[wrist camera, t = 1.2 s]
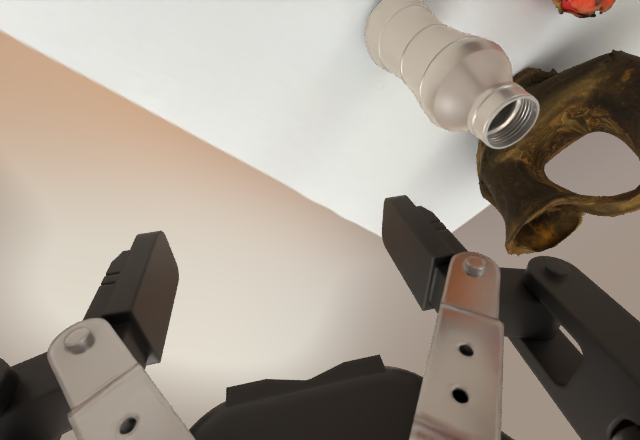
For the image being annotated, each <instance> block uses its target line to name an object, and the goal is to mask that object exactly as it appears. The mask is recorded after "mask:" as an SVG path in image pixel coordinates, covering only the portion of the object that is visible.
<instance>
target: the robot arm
mask: <svg viewBox="0 0 640 440" xmlns="http://www.w3.org/2000/svg"><path fill="white" fill-rule="evenodd" d="M382 238H383V242H384V245H385V248H386V249H387V251H388V253H389V254H390V256H391V258H392V259H393V261H394V263H395V265H396V266H397V268H398V270H399V271H400V273H401V275H402V276H403V278H404V280H405V282H406V283H407V285H408V287H409V288H410V290H411V292H412V294H413V295H414V297H415V299H416V300H417V302H418V304H419V305H420V307H421V309H422V310H423V311H425V310H430V309H435V310H436V312H437V313H438V315H437V320H436V325H435V328H434V333H433V337H432V341H431V345H430V350H429V354H428V358H427V363H426V367H425V371H424V375H423V377H421V376H419V375H417V374H415V373H413V372H410V371H408V370H404V369H401V368H396V367H390V366H384V364H383V362H382V359H381V357H380V355H375V356H371V357H366V358H362V359H357V360H352V361H348V362H344V363H342V364H340V365H338V366H336V367H334V368H332V369H330V370H328V371H326V372H324V373H322V374H320V375H318V376H316V377H314V378H312V379H309V380H275V379H274V380H273V379H265V380H260V381H255V382H251V383H246V384H242V385H237V386H232V387H228V388H227V390H226V392H227V393H226V401H225V402H223V403H221V404H220V405H218V406H216V407H215V408H213V409H212V410H210V411H209V412H208V413H207V414H205V415H204V416H203V417H202V418H200V419H199V420H198V421H197V422H196V423H195V424H194V425H193V426H192V427H191V428H190V430H188V428H187V427H186V426H185V424H184V423H183V422H182V420H181V419H180V418H179V416H178V415H177V413H176V412H175V411H174V410H173V408H172V407H171V405H170V404H169V403H168V401H167V400H166V398H165V397H164V396H163V394H162V393H161V392H160V391H159V389H158V388H157V386H156V385H155V384H154V382H153V381H152V379H151V378H150V377H149V375H148V374H147V373H146V371H145V367H146V365H151V364H156V363H160V361H161V357H162V353H163V348H164V344H165V339H166V335H167V330H168V326H169V321H170V317H171V312H172V308H173V304H174V299H175V295H176V290H177V286H178V281H179V273H178V267H177V263H176V261H175V258H174V256H173V253H172V251H171V248H170V246H169V243H168V241H167V238H166V236H165V234H164V232H162V231H157V232H150V233H144V234H138V235H137V236H136V238H135V240H134V242H133V245H132V247H131V249H130V250H128V251H123V252H122V253H121V254H120V255H119V256H118V257H117V258H116V259H115V260H114V261H112V263H111V265H110V267H109V269H108V271H107V273H106V276H105V277H104V279H103V281H102V283H101V286H100V287H99V289H98V291H97V293H96V295H95V297H94V299H93V301H92V303H91V305H90V307H89V309H88V311H87V313H86V315H85V317H84V319H83V321H80V322H78V323H75V324H74V325H72V326H70V327H68V328H67V329H66V330H64V331H63V332H61V333H60V334H59V335H58V336H57V337H56V338H55V339H54V341H53V342H52V343H51V345H50V346H49V348H48V351H47V352H46V353H43V354H41V355H38V356H36V357H34V358H31V359H29V360H26V361H24V362H22V363H19V364H17V365H14V366H12V367H10V366H9V365H8V364H7V363H6V362H5V361H4V360H3V359H1V358H0V440H60V438H61V435H62V434H64V433H66V432H68V431H70V430H72V429H73V431H74V433H75V436H76V438H77V440H514V439H512V438H511V437H509V436H508V435H507V434H505V433H504V432H502V431H501V416H502V415H501V414H502V381H503V346H504V336H506V337H508V338H509V339H510V341H511V342H512V344H513V345H514V346H515V348H516V349H517V351H518V352H519V353H520V355H521V356H522V357H523V359H524V360H525V362H526V363H527V364H528V366H529V367H530V369H531V370H532V371H533V373H534V374H535V375H536V377H537V378H538V380H539V381H540V382H541V384H542V385H543V387H544V388H545V389H546V391H547V392H548V394H549V395H550V396H551V398H552V399H553V400H554V402H555V403H556V405H557V406H558V407H559V409H560V410H561V412H562V413H563V415H564V416H565V417H566V419H567V420H568V421H569V423H570V424H571V426H572V427H573V428H574V430H575V431H576V433H577V434H578V435H579V437H580V438H581V440H640V322H639V321H638V320H637V319H636V318H635V317H633V316H632V315H631V314H630V313H629V312H628V311H626V310H625V309H624V308H623V307H622V306H621V305H619V304H618V303H617V302H616V301H615V300H614V299H612V298H611V297H610V296H609V295H608V294H607V293H605V292H604V291H603V290H602V289H601V288H600V287H598V286H597V285H596V284H595V283H594V282H593V281H591V280H590V279H589V278H588V277H587V276H586V275H585V274H583V273H582V272H581V271H580V270H579V269H578V268H576V267H575V266H573V265H572V264H570V263H568V262H566V261H564V260H561V259H558V258H555V257H549V256H538V257H535V258H533V259H531V260H530V261H529V263H528V265H527V268H526V269H514V268H500V267H499V266H498V265H497V264H496V263H495V262H494V261H493V260H492V259H490V258H489V257H487V256H485V255H482V254H479V253H475V252H468V251H467V250H466V249H465V248H464V247H463V245H462V244H461V243H460V242H459V241H458V240H457V239H456V238H455V237H454V235H453V234H452V233H451V232H450V231H449V230H448V229H446V227H445V226H444V224H443V223H442V222H440V220H439V219H438V218H437V217H436V216H435V215H434V213H433V212H431V211H429V210H427V209H426V208H424V207H422V206H417V207H416V206H415V205H414V204H413V202H412V201H411V200H410V199H409V198H408V197H407V196H406V195H403V196H396V197H390V198H386V199H385V201H384V209H383V223H382ZM560 325H562V326H563V327H564V328H565V329H566V330H567V332H568V333H569V334H570V335H571V336H572V337H573V338H574V339H575V340H576V342H577V343H578V344H579V346H580V347H581V350H582V352H583V355H582V354H581V353H580V352H579V351H578V350H577V348H575V346H574V345H573V344H572V343H571V342H570V341H569V340H568V338H567V337H566V336H565V335H564V334H563V333H562V332H561V331H560V329H559V327H560Z"/></svg>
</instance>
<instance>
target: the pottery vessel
mask: <svg viewBox="0 0 640 440" xmlns="http://www.w3.org/2000/svg"><path fill="white" fill-rule="evenodd" d="M513 82H515V83H516V84H518V85H520V86H521V87H523V88H524V90H525V91H526V92H527V93H529V94H531V95H532V96H534V97H535V98H536V100H537V101H538V103H539V108H540V110H539V115H538V118H537V120H536V122H535V124H534V125H533V127H532V128H531V130H530V131H529V132H528V133H527V134H526V135H525V136H524V137H523V138H522V139H520V140H519V141H518V142H516V143H514V144H513V145H511V146H509V147H506V148H502V149H493V148H491V147H489V146H487V145H486V144H485V143H484V142H483V141H482V140H480V139H479V140H478V141H479V143H478V151H477V172H478V177H479V184H480V191H481V194H482V196H483V198H485V199H486V200H488V201H489V202H490V203H491V204H492V205H494V207H496V209H498V211H499V212H500V213H501V215H502V216H503V218H504V221H505V225H506V242H505V247H506V250H507V252H508V254H511V255H512V254H517V255H518V256H519V255H520V254H522V253H527V254H528V253H533V252H541V251H544V250H546V249H549V248H552V247H555V246H556V245H558V243H560V242H561V241H563V240H564V239H565V238H567V237H568V236H569V235H570V234H571V233H572V232H574V231H575V230H576V229H577V228H578V226H579V225H580V224H581V222H582V218H583V217H582V215H584V214H583V213H589V214H593V215H597V216H610V217H615V216H618V215H622V214H623V215H624V214H625V213H629V212H634V211H637V210H639V209H640V185H639V186H638V187H637V188H636V189H635V190H632V191H629V192H626V193H622V194H619V195H615V196H602V197H600V196H598V197H596V196H586V195H579V194H576V193H573V192H571V191H569V190H567V189H565V188H563V187H560V186H559V185H557V184H555V183H553V182H552V181H550V180H549V179H548V178H547V176H546V174H545V172H544V166H545V164H546V163H547V162H548V161H550V160H551V159H552V158H553V157H554V156H556V155H557V154H558V153H560V152H561V151H562V150H563V149H565V148H566V147H568V146H569V145H570V144H572V143H573V142H575V141H576V140H578V139H580V138H581V137H583V136H584V135H586V134H588V133H591V132H597V131H601V132H606V133H609V134H612V135H614V136H616V137H618V138H619V139H621V140H622V141H623V142H625V143H626V144H627V145H628V146H629V147H630V148H631V149H632V150H633V152H634V153H635V154H636V155H637V156H638V157H639V159H640V57H638V56H634V55H631V54H628V53H625V52H623V51H615V50H612V52H611V53H608V54H604V55H601V56H599V57H596V58H594V59H592V60H589V61H587V62H585V63H582V64H580V65H577V66H575V67H574V66H573V68H570V69H567V70H565V71H563V72H561V73H557V72H556V71H555V70H554V69H552V70H551V71H550V72H543V71H541V69H533V68H527V69H525V70H524V71H523V72H521V73H520V74H519V75H517V76H516V77H515V78H514V80H513ZM531 251H532V252H531Z"/></svg>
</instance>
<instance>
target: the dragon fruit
mask: <svg viewBox="0 0 640 440" xmlns="http://www.w3.org/2000/svg"><path fill="white" fill-rule="evenodd" d="M552 1H553V3H554V4H555V6H556V7H557V8H558V11H559V13H560V14H563V12H567V13H571V14H573V15H575V16H576V17H579V18H587V17H595V16H596V15H595V14H594V13H595V11H598V10H599V11H600V14H602V13H603V12H606V11H607V10H609V9H610V8H611V7H612V6H611V5H613V4H614V2H615V0H552Z"/></svg>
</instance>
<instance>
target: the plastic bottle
mask: <svg viewBox="0 0 640 440" xmlns="http://www.w3.org/2000/svg"><path fill="white" fill-rule="evenodd" d="M365 43H366V47H367V50H368V52H369V54H370V56H371V58H372V60H373V61H374V62H375V64H377V65H378V66H379V67H381V68H382V69H384V70H386V71H388V72H390V73H393V74H394V75H395V76H397V77H398V78H399V79H401V80H402V81H403V82H404V83H405V84H406V86H407V87H408V88H409V89H410V90H411V92H412V93H413V94H414V96H415V97H416V99H417V101H418V102H419V104H420V106H421V108H422V109H423V111H424V112H425V114H426V115H427V116H428V118H429V119H430V120H431V122H432V123H434V124H435V125H436V126H438V127H441V128H443V129H446V130H448V131H453V132H464V131H470V132H471V134H473V135H474V136H475V137H476V138H478V139H480V140H482V141H483V142H484V143H485V144H486V145H487V146H489V147H491V148H493V149H502V148H506V147H509V146H511V145H513V144H514V143H516V142H518V141H519V140H520V139H522V138H523V137H524V136H525V135H526V134H527V133H528V132H529V131H530V130H531V128H532V127H533V125H534V124H535V122H536V120H537V118H538V115H539V110H540V108H539V103H538V101H537V100H536V98H535V97H534V96H532V95H531V94H529V93H527V92H526V91H525V90H524V88H523V87H521V86H520V85H518V84H516V83H515V82H513V76H512V68H511V63H510V61H509V59H508V57H507V55H506V54H505V52H504V51H503V49H502V48H501V47H500V46H499V45H497V44H496V43H494V42H492V41H490V40H487V39H485V38H481V37H477V36H474V35H470V34H466V33H463V32H460V31H457V30H455V29H453V28H451V27H448V26H447V25H445V24H443V23H442V22H441V21H439V20H438V19H437V18H436V17H435V16H434V15H432V13H431V12H430V10H429V9H428V8H427V7H426V6H425V5H424V4H423V3H422V2H421V1H420V0H382V1H381V2H379V3H378V4H377V6H376V7H375V8H374V9H373V11H372V12H371V14H370V16H369V18H368V20H367V24H366V28H365Z"/></svg>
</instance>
